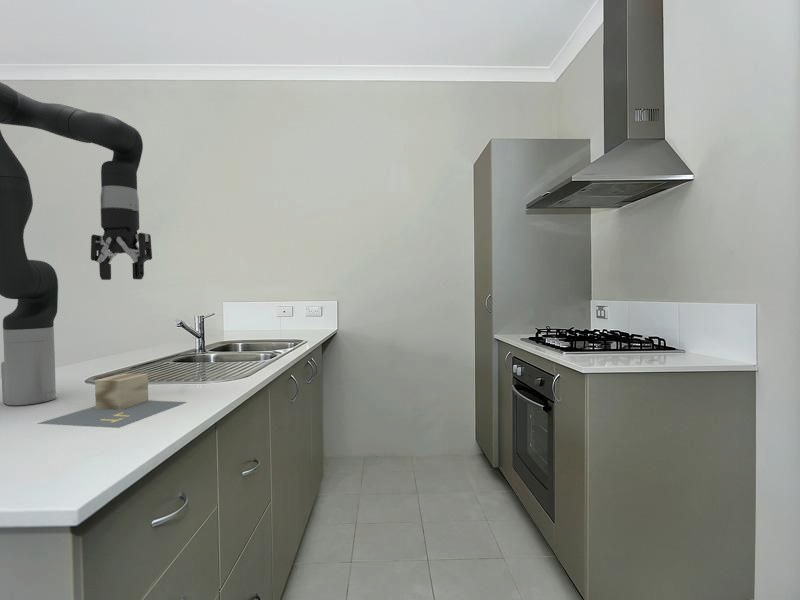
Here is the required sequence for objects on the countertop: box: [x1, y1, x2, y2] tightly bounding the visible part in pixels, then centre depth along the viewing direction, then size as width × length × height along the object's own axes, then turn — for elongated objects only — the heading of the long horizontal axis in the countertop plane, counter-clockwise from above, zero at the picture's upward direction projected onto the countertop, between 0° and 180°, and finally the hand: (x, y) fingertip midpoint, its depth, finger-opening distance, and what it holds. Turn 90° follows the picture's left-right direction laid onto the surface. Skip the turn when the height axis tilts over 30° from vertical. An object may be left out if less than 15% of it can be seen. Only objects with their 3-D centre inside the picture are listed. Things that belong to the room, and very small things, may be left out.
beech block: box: [94, 373, 149, 410], centre depth 100 cm, size 6×8×6 cm
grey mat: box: [37, 400, 188, 429], centre depth 93 cm, size 18×19×1 cm
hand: (121, 279), depth 105 cm, fingers open, 8 cm apart
